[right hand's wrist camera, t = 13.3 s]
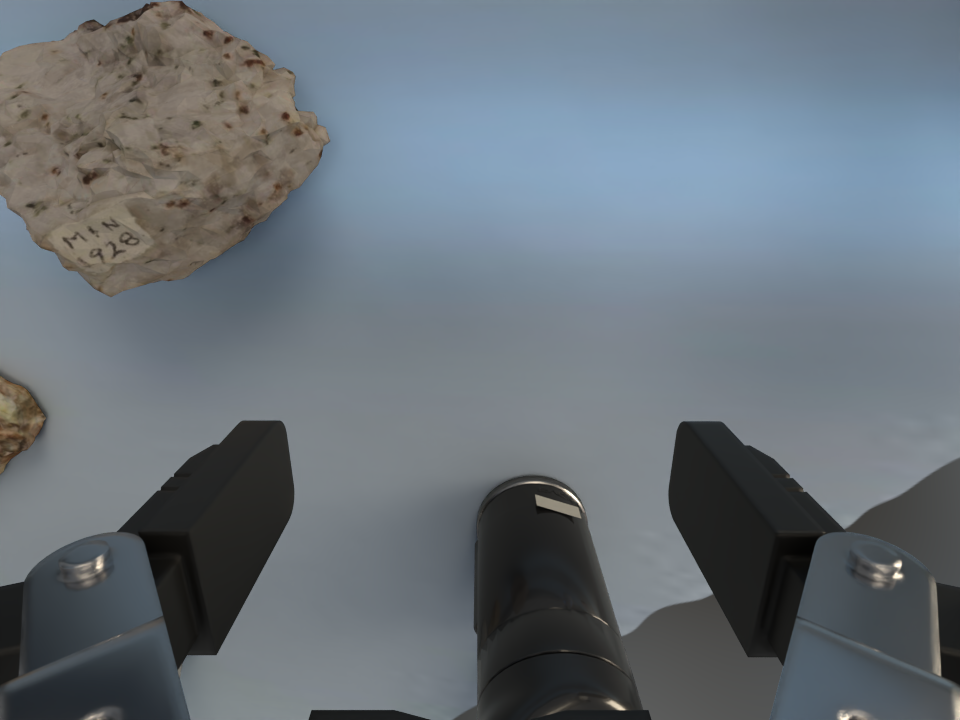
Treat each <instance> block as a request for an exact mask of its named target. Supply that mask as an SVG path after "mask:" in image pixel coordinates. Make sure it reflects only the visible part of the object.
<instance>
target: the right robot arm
mask: <svg viewBox="0 0 960 720" xmlns="http://www.w3.org/2000/svg"><path fill="white" fill-rule="evenodd" d="M293 504H294V483H293V476H292V469H291V461H290V454H289V447H288V440H287V433H286V428H285V426H284V424H283V422H282V421H241V422H240V423H239V424H238V425H237V426H236V427H235V428H234V429H233V430H232V431H231V432H230V433H229V434H228V435H227V437H226V438H225V439H224V440H223V441H222V442H221V443H220V444H219V445H212V446H210V447H208V448H207V449H205V450H203V451H201V452H200V453H198V454H196V455H194V456H193V457H191V458H189V459H188V460H187V461H186V462H185V463H184V464H183V465H182V466H181V467H180V468H179V470H178V471H177V472H176V473H175V474H174V477H171V478H170V479H169V480H168V481H167V482H166V483H165V484H164V485H163V486H162V487H161V491H157V492H156V493H155V494H154V495H153V496H152V497H151V498H150V499H149V500H148V501H147V502H146V503H145V504H144V505H143V506H142V507H141V508H140V509H139V510H138V511H137V512H136V513H135V514H134V515H133V516H132V517H131V518H130V519H129V520H128V521H127V522H126V523H125V524H124V525H123V526H122V527H121V528H120V529H119V530H118V531H117V532H110V533H103V534H98V535H94V536H90V537H87V538H83V539H81V540H78V541H75V542H73V543H71V544H68V545H66V546H64V547H62V548H60V549H58V550H57V551H55V552H53V553H52V554H50V555H49V556H47V557H46V558H44V559H43V560H42V561H40V562H39V563H38V564H37V565H36V566H35V567H34V568H33V569H32V570H31V571H30V573H29V574H28V575H27V577H26V579H25V582H21V583H16V584H11V585H6V586H1V587H0V720H190V716H189V712H188V709H187V705H186V701H185V697H184V693H183V689H182V686H181V682H180V678H179V674H178V669H179V668H180V666H181V664H182V663H183V661H184V659H185V658H186V656H187V655H217V653H218V651H219V649H220V647H221V645H222V644H223V642H224V640H225V638H226V636H227V634H228V632H229V631H230V629H231V627H232V625H233V623H234V621H235V619H236V618H237V616H238V614H239V612H240V610H241V608H242V606H243V605H244V603H245V601H246V599H247V597H248V595H249V593H250V592H251V590H252V588H253V586H254V584H255V582H256V580H257V578H258V577H259V575H260V573H261V571H262V569H263V567H264V565H265V564H266V562H267V560H268V558H269V556H270V554H271V552H272V551H273V549H274V547H275V545H276V543H277V541H278V539H279V538H280V536H281V534H282V532H283V530H284V528H285V526H286V525H287V523H288V521H289V519H290V516H291V513H292V510H293ZM669 506H670V511H671V515H672V518H673V520H674V522H675V524H676V526H677V528H678V529H679V531H680V533H681V535H682V537H683V539H684V540H685V542H686V544H687V546H688V548H689V550H690V551H691V553H692V555H693V557H694V559H695V561H696V562H697V564H698V566H699V568H700V570H701V572H702V573H703V575H704V577H705V579H706V581H707V583H708V585H709V586H710V588H711V590H712V592H713V594H714V595H715V597H716V599H717V601H718V603H719V605H720V607H721V608H722V610H723V612H724V614H725V616H726V618H727V619H728V621H729V623H730V625H731V627H732V629H733V630H734V632H735V634H736V636H737V638H738V640H739V641H740V643H741V645H742V647H743V649H744V651H745V653H746V654H747V656H748V657H778V658H779V660H780V662H781V663H782V665H783V670H782V674H781V678H780V682H779V686H778V689H777V694H776V697H775V701H774V705H773V709H772V712H771V716H770V720H960V587H955V586H950V585H945V584H940V583H936V582H935V579H934V577H933V576H932V574H931V573H930V571H929V570H928V569H927V568H926V567H925V566H924V565H923V564H922V563H921V562H920V561H918V560H917V559H916V558H914V557H913V556H911V555H910V554H908V553H907V552H905V551H903V550H902V549H900V548H898V547H896V546H894V545H892V544H889V543H887V542H885V541H882V540H879V539H877V538H873V537H870V536H866V535H862V534H857V533H850V532H846V531H845V530H844V529H843V528H842V527H841V526H840V525H839V524H838V523H837V522H836V521H835V520H834V519H833V518H832V517H831V516H830V515H829V514H828V513H827V512H826V511H825V510H824V509H823V508H822V507H821V506H820V505H819V504H818V503H817V502H816V501H815V500H814V499H813V498H812V497H811V496H810V495H809V494H808V493H807V492H803V488H802V487H801V486H800V485H799V484H798V483H797V482H796V481H795V480H794V479H793V478H790V475H789V474H788V473H787V472H786V471H785V470H784V469H783V468H782V467H781V466H780V465H779V464H778V463H777V462H776V461H775V460H774V459H773V458H771V457H769V456H768V455H766V454H764V453H762V452H760V451H759V450H757V449H755V448H753V447H752V446H745V445H744V444H743V443H742V442H741V441H740V440H739V439H738V438H737V437H736V436H735V435H734V434H733V433H732V432H731V431H730V430H729V428H728V427H727V426H726V425H725V424H724V423H723V422H719V421H683V422H681V423H680V425H679V427H678V429H677V434H676V440H675V447H674V455H673V462H672V469H671V476H670V483H669ZM477 537H478V540H477V542H476V543H475V571H474V630H475V632H476V634H477V671H478V677H477V720H651V717H650V714H649V711H648V710H643V708H642V704H641V701H640V698H639V695H638V691H637V687H636V684H635V681H634V677H633V674H632V671H631V667H630V664H629V661H628V657H627V654H626V651H625V648H624V645H623V641H622V638H621V634H620V631H619V628H618V624H617V621H616V618H615V614H614V611H613V608H612V604H611V601H610V598H609V594H608V591H607V588H606V584H605V581H604V578H603V574H602V571H601V568H600V564H599V561H598V558H597V554H596V551H595V548H594V544H593V541H592V537H591V534H590V531H589V528H588V521H587V517H586V513H585V510H584V507H583V504H582V502H581V500H580V499H579V497H578V496H577V495H576V493H575V492H574V491H573V490H571V489H570V488H569V487H568V486H566V485H565V484H563V483H561V482H559V481H557V480H554V479H552V478H548V477H543V476H523V477H518V478H515V479H511V480H509V481H507V482H504V483H502V484H501V485H499V486H498V487H496V488H495V489H494V490H492V491H491V492H490V493H489V494H488V495H487V497H486V498H485V499H484V501H483V502H482V504H481V506H480V509H479V512H478V516H477ZM309 720H429V719H425V718H422V717H418V716H414V715H410V714H407V713H403V712H399V711H395V710H312V711H311V714H310V717H309Z"/></svg>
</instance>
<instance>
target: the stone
mask: <svg viewBox="0 0 960 720" xmlns="http://www.w3.org/2000/svg"><path fill="white" fill-rule="evenodd" d="M45 419H46V417H45V416H44V414H43V413H42V411H41V410H40V408H39V407H38V405H37V404H36V402H35V401H34V399H33V398H32V396H31V395H30V393H29V392H28V390H26V389H25V388H23V387H22V386H20V385H16V384H13V383H11V382H9V381H7V380H5V379H4V378H2V377H1V376H0V474H1V473H2V472H3V471H4V469H5V466H6V464H7V463H8V462H9V461H10V460H11V459H12V458H13V457H15V456H16V455H17V454H19V453H20V452H21V451H25V450H27V449H28V448H29V447H30V446H31V445H32V444H33V442H34V441H35V437H36V436H37V435H38V434H39V432H40V430H41V428H42V426H43V422H44V420H45Z"/></svg>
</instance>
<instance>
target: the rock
mask: <svg viewBox="0 0 960 720" xmlns="http://www.w3.org/2000/svg"><path fill="white" fill-rule="evenodd" d="M274 66H275V64H274V63H273V62H272V61H271V60H270V58H269V57H268V56H266V55H264V54H262V53H260V52H258V51H256V50H255V49H254V48H253V47H252V46H251V45H250V44H249V43H248V42H247V41H244V40H241V39H238V38H236V37H234V36H232V35H230V34H229V33H227V32H224V31H223V30H222V29H220V28H219V27H218V26H217V25H216V24H215V23H214V22H213V21H211V20H209V19H208V18H206V17H205V16H204V15H203V14H202V13H200V12H197V11H195V10H193V9H191V8H189V7H188V6H186V5H185V4H184V3H183V2H182V1H167V2H150V5H149V4H147V3H146V4H145V6H144V7H143V8H141V9H139V10H136V11H134V12H132V13H129V14H127V15H125V16H123V17H121V18H118V19H115V20H112V21H110V22H109V23H108V24H107V25H106V26H103V25H101V24H100V23H98V22H97V21H95V20H90V21H86V22H84V23H83V24H81V25H79V27H78V30H75V31H74V32H72V33H70V34H69V35H68V36H67V37H66V38H65V39H63V40H61V41H51V42H43V43H34V44H28V45H23V46H19V47H16V48H14V49H11V50H9V51H6V52H4V53H3V54H2V55H1V57H0V195H1V196H3V197H4V198H5V199H6V202H7V208H9V209H10V210H12V211H13V212H14V213H16V214H17V215H19V216H20V217H22V218H23V220H24V222H25V223H26V229H27V230H28V231H29V233H30V235H31V238H32V240H33V241H34V242H35V243H36V244H37V245H38V246H39V247H41V248H42V249H45V250H49V251H52V252H55V253H56V255H57V257H58V258H59V260H60V262H61V264H62V266H63V267H64V268H66V269H67V270H69V271H77V272H78V273H79V274H80V275H81V276H82V277H83V278H84V279H85V280H86V281H87V282H88V283H89V284H90V285H91V286H92V287H93V288H94V289H96V290H98V291H100V292H102V293H104V294H106V295H108V296H110V297H112V296H114V295H116V294H118V293H120V292H122V291H125V290H128V289H131V288H135V287H138V286H142V285H145V284H148V283H154V282H158V281H161V280H164V281H172V280H179V279H184V278H186V277H188V276H189V275H190V274H191V273H193V272H194V271H195V270H196V269H198V268H200V267H201V266H203V265H204V264H205V263H207V262H208V261H209V260H211V259H215V258H216V257H218V256H219V255H221V254H222V253H224V252H225V251H226V250H228V249H229V248H231V247H232V246H234V245H236V244H237V243H239V242H241V241H243V240H244V239H245V238H246V237H247V236H248V234H249V233H250V231H251V228H253V226H255V225H256V224H258V223H261V222H264V221H266V220H267V219H268V217H269V216H270V214H271V213H272V211H273V210H275V209H276V208H277V207H278V206H280V205H281V204H282V202H284V201H285V200H286V199H287V195H288V194H289V193H290V191H292V190H294V189H297V188H299V187H300V186H301V185H302V183H303V182H304V181H305V180H306V179H307V177H308V176H309V175H310V174H311V172H312V171H313V170H314V169H315V168H316V166H317V165H318V163H319V161H320V158H321V156H322V151H323V146H324V145H326V144H327V143H329V142H330V139H329V136H328V133H327V130H326V128H325V127H323V126H320V125H317V116H316V115H315V114H314V112H305V111H298V110H297V109H296V107H295V102H294V100H293V97H294V96H295V91H294V83H295V77H296V76H295V75H294V73H293V72H292V71H290V70H288V69H286V68H280V69H276V70H273V68H274Z"/></svg>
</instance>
